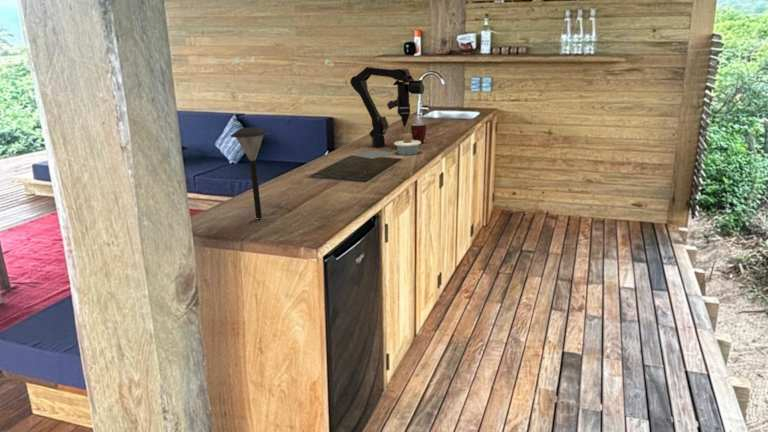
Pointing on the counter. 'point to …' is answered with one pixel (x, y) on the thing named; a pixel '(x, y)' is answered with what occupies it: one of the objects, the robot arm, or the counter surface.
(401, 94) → the robot arm
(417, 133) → the mug
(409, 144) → the lid
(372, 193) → the counter surface
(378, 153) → the mat
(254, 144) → the solar garden light
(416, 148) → the bowl
